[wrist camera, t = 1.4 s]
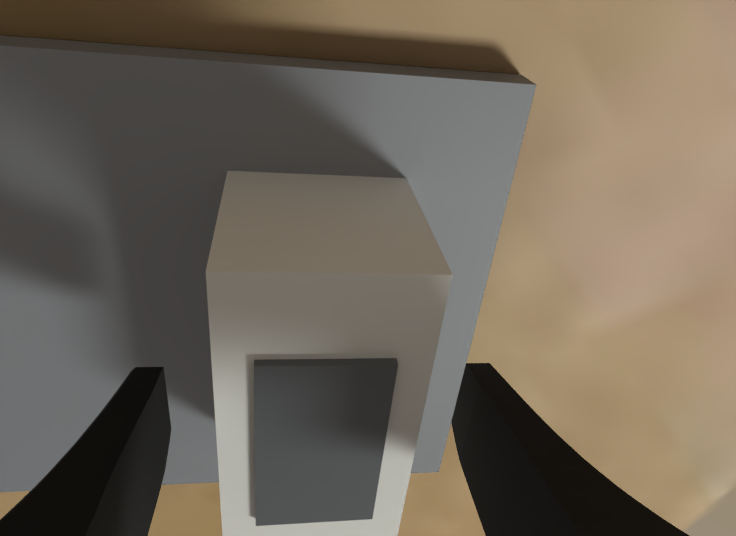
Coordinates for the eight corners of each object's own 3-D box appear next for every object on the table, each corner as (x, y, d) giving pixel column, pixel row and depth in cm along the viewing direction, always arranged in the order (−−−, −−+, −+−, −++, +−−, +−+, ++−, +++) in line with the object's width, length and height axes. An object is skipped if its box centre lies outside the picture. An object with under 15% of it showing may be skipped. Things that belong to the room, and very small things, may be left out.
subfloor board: (432, 450, 21) (438, 471, 20) (-385, 482, 17) (-419, 511, 16) (521, 74, 14) (536, 84, 13) (-870, -31, 10) (-979, -26, 9)
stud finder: (370, 427, 19) (394, 563, 15) (236, 431, 18) (224, 575, 14) (406, 177, 14) (455, 280, 10) (227, 170, 13) (204, 277, 9)
